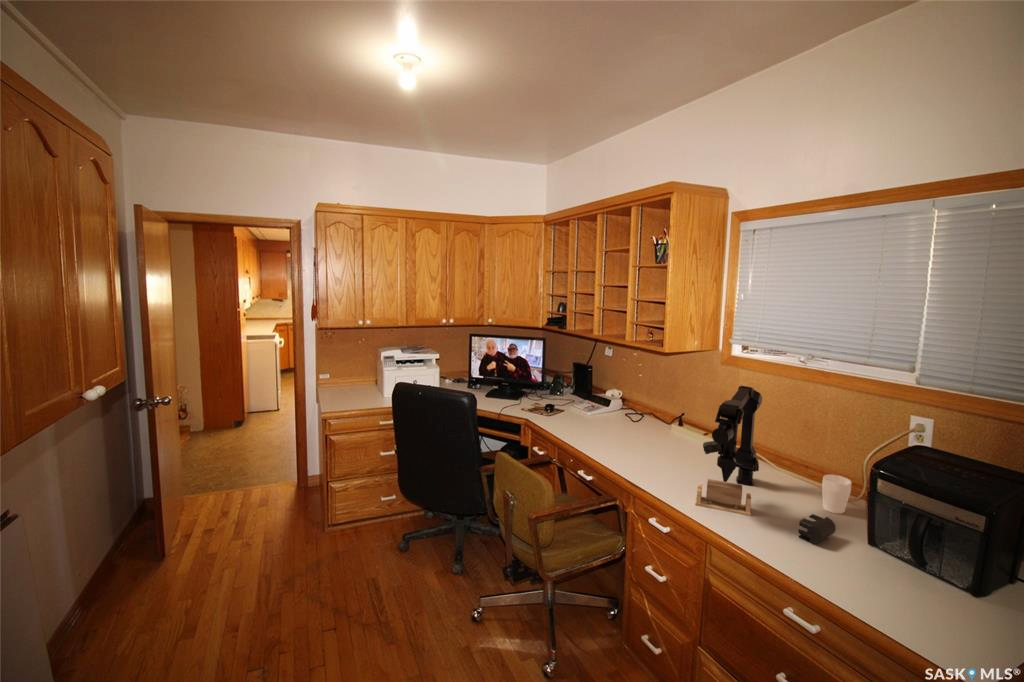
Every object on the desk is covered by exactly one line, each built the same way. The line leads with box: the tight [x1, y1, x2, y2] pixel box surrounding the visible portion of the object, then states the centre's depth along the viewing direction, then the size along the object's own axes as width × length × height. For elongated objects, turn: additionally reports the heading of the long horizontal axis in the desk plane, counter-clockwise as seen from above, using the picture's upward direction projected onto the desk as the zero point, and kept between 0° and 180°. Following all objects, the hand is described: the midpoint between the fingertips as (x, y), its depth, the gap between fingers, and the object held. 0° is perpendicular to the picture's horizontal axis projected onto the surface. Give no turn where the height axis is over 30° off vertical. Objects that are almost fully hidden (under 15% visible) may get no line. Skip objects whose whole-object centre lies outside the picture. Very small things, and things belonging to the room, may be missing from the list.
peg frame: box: [694, 483, 752, 517], centre depth 183 cm, size 7×19×6 cm, turn 65°
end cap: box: [797, 513, 837, 545], centre depth 162 cm, size 10×7×7 cm
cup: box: [821, 474, 852, 515], centre depth 181 cm, size 9×9×12 cm
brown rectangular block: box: [705, 478, 743, 506], centre depth 183 cm, size 5×12×6 cm, turn 65°
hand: (725, 476), depth 182 cm, fingers open, 9 cm apart
